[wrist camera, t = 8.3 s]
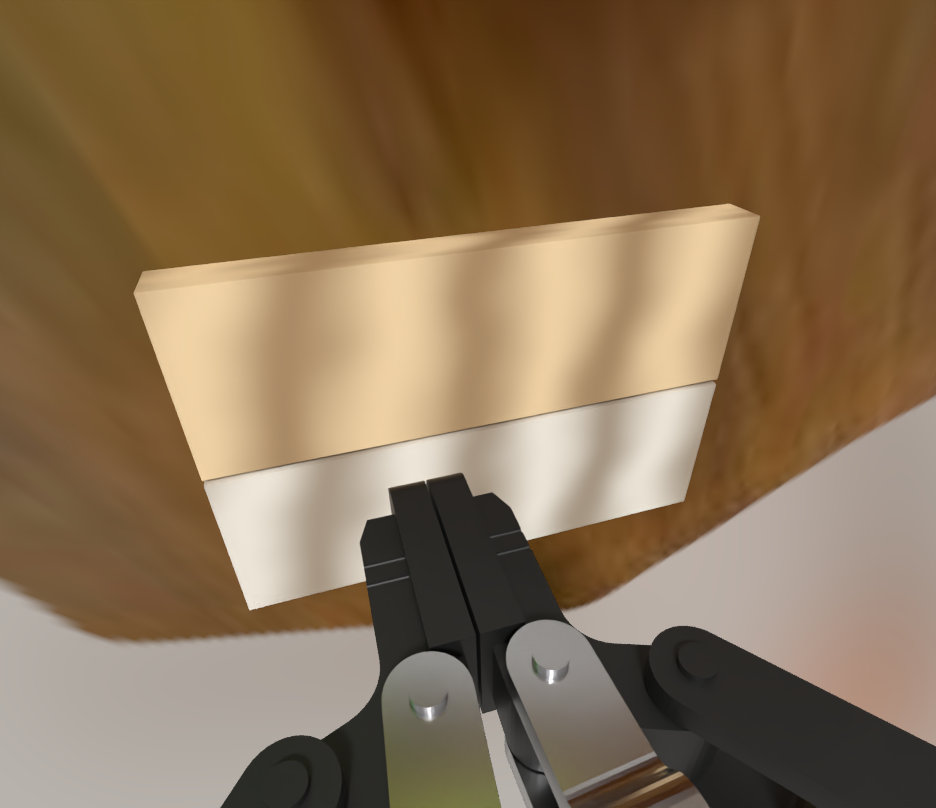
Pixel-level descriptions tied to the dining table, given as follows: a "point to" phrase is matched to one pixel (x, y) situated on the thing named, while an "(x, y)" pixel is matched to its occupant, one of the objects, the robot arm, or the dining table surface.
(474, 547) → the robot arm
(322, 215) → the dining table surface
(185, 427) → the honey oak plank
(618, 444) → the whitewashed oak board
